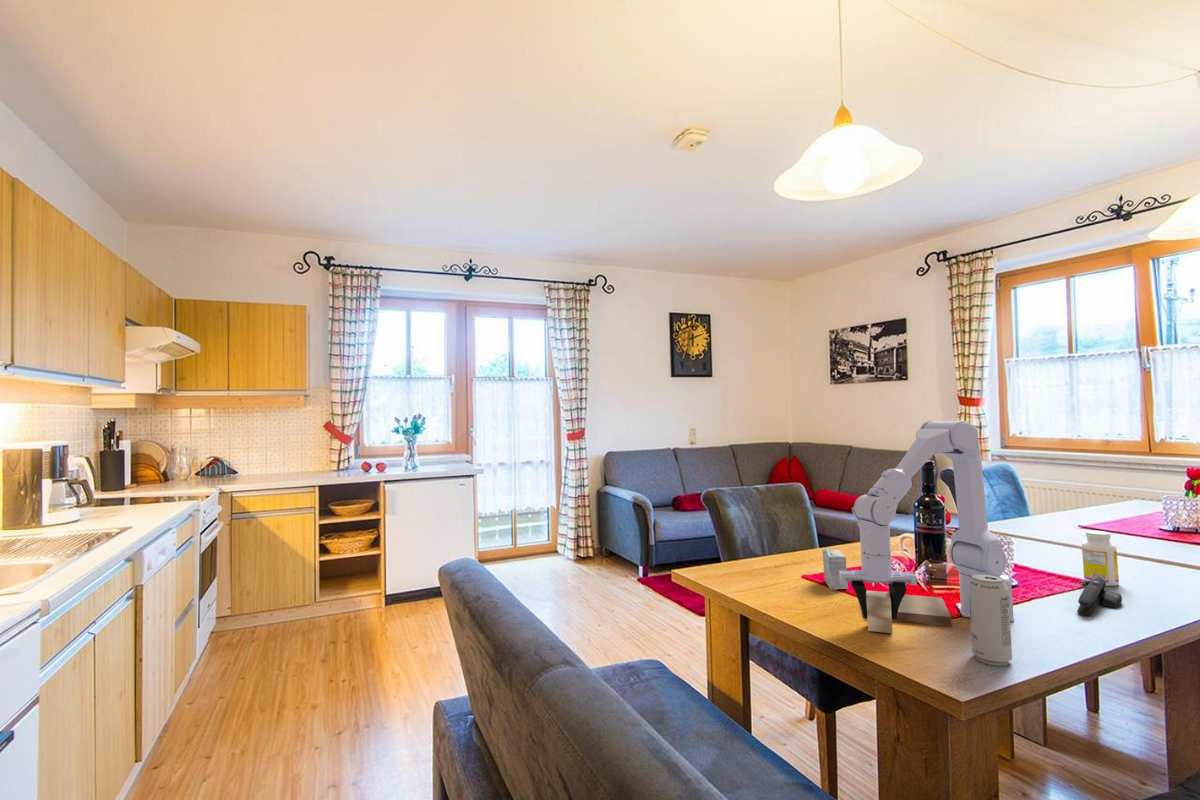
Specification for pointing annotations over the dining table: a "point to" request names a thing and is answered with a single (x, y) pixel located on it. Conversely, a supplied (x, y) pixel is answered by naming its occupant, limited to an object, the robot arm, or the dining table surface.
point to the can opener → (1096, 597)
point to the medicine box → (834, 569)
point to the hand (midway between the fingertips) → (879, 617)
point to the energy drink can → (990, 619)
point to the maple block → (879, 611)
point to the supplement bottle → (1100, 558)
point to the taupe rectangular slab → (924, 610)
